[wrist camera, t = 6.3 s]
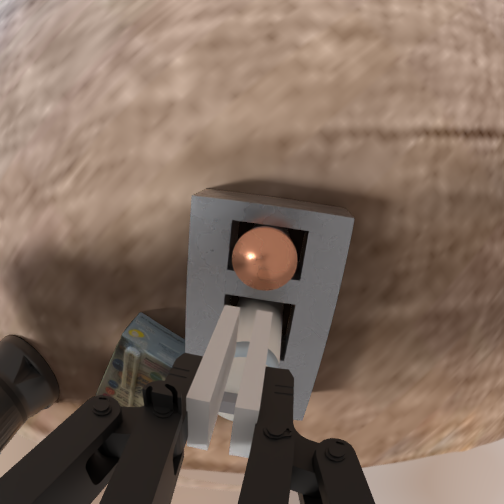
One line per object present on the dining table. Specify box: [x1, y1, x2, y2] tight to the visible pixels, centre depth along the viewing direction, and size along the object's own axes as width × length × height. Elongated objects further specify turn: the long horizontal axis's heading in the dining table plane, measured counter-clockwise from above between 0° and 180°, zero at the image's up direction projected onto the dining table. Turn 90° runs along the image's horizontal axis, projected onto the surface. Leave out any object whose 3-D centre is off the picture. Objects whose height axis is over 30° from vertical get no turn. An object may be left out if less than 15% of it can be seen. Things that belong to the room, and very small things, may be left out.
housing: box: [185, 188, 355, 420], centre depth 33 cm, size 14×24×5 cm, turn 173°
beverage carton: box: [96, 312, 185, 407], centre depth 38 cm, size 8×19×7 cm, turn 148°
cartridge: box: [218, 296, 283, 421], centre depth 28 cm, size 5×5×16 cm
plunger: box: [232, 223, 297, 291], centre depth 29 cm, size 5×5×7 cm
